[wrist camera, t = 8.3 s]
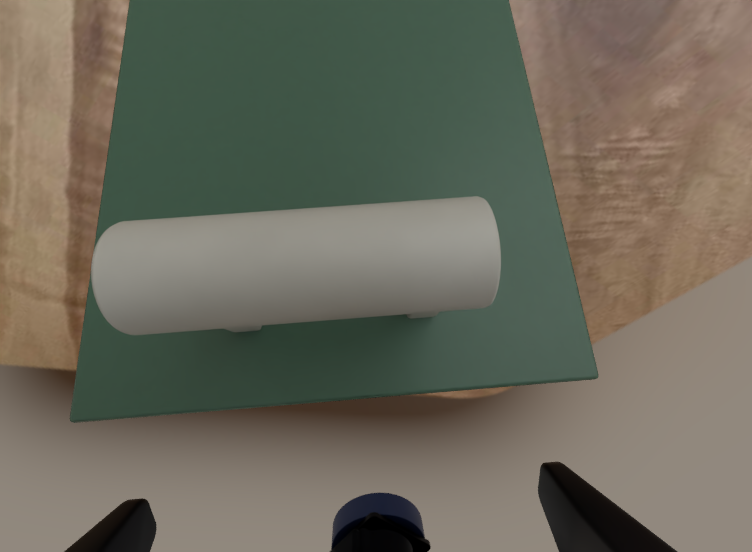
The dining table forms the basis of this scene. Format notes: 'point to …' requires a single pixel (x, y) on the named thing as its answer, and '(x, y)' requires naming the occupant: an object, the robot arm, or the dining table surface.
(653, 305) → the dining table surface
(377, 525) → the robot arm
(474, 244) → the lid
